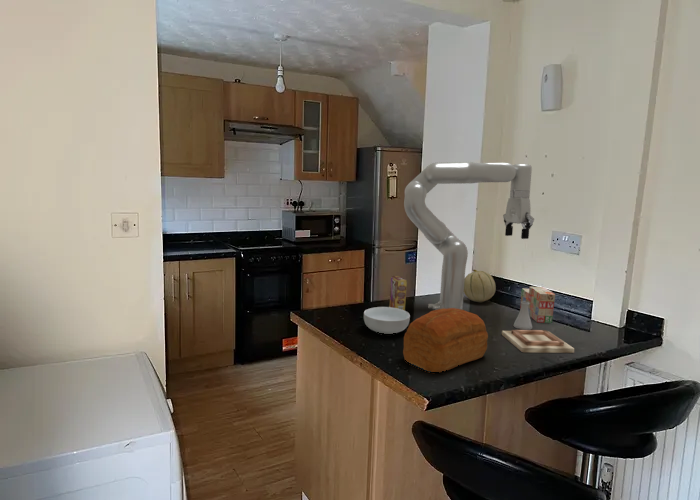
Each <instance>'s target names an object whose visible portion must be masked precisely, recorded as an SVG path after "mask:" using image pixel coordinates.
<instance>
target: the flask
mask: <svg viewBox="0 0 700 500" xmlns="http://www.w3.org/2000/svg"><path fill="white" fill-rule="evenodd" d="M520 304H521V308H520V309H519V313H518V315H517V317H516V319H515V320H514V323H513V325H512V326H513V327H514V328H515V329H518V330H533V328H534V327H533V324H532V320H531V317H530V316H529V311H528V305H529V303H528V302H521V301H520Z"/></svg>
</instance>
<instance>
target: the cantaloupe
mask: <svg viewBox="0 0 700 500" xmlns="http://www.w3.org/2000/svg"><path fill="white" fill-rule="evenodd" d="M496 287H497V286H496V282H495V280H494V277H493V276H492V275H491V274H490V273H489V272H487V271H484V270H477V269H473V270H472V271H471V272H470V273H468V274H467V275H465V281H464V295H465V296H466V298H467V299H468V300H470V301H472V302H476V303H484V302H486V301H488V300H490V299H492V297H493V296H494V295H495V293H496V290H497V289H496Z"/></svg>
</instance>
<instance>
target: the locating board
mask: <svg viewBox="0 0 700 500" xmlns="http://www.w3.org/2000/svg"><path fill="white" fill-rule="evenodd" d="M501 335H502V336H503V337H504V338H505V339H506V340H507V341H508V342H509V343H511V344H512V345H513V347H516V349H518V350H519V352H522V353H541V354H543V353H545V354H546V353H551V354H552V353H553V354H554V353H556V354H557V353H558V354H559V353H561V354H564V353H565V354H568V353H569V354H571V353H573V354H574V353H575V348H574V347H572V345H570V344H568V343H567V342H565V341H564V340H563V339H561V338H559V337H558V336H557V335H555V334H554V333H552V332H551V331H549V330H546V329H531V330H524V329H511V330H501Z"/></svg>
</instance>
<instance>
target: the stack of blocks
mask: <svg viewBox="0 0 700 500" xmlns="http://www.w3.org/2000/svg"><path fill="white" fill-rule="evenodd" d="M520 290H521V291H520V305H519V306H520V309H521V302H528V303H529V305H528V311H529V316H530V319H532V320H534V321H535V322H536V323H543V324H544V323H545V324H546V323H547V324H552V323H553V319H554V310H555V309H554V307H555V300H556V294H555V293H554V292H553V291H552V290H549V289H547V288H546V287H544V286H529V288H525V287H523V288H521V289H520Z"/></svg>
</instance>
